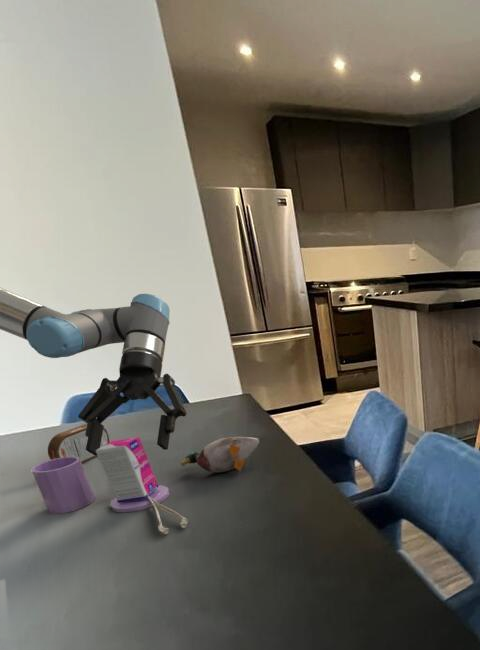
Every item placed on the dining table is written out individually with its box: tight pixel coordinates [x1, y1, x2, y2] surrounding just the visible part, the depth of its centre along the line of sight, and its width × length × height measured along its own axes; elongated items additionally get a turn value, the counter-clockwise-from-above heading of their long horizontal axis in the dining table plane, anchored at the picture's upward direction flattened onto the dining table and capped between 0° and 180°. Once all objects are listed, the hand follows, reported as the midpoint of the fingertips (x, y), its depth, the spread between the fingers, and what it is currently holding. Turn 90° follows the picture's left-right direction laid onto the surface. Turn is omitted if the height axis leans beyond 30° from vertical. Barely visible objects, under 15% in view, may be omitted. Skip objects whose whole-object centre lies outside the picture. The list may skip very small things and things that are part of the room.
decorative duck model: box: [180, 435, 260, 473], centre depth 113 cm, size 15×8×15 cm
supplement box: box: [96, 436, 159, 503], centre depth 98 cm, size 6×6×12 cm
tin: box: [47, 423, 110, 464], centre depth 123 cm, size 15×3×8 cm, turn 168°
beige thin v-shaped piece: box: [147, 496, 188, 535], centre depth 93 cm, size 18×5×2 cm, turn 43°
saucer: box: [110, 484, 170, 513], centre depth 100 cm, size 10×10×1 cm
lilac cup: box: [30, 456, 95, 514], centre depth 99 cm, size 8×8×9 cm
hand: (127, 449), depth 98 cm, fingers open, 13 cm apart
